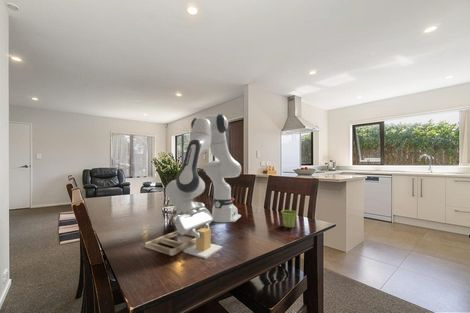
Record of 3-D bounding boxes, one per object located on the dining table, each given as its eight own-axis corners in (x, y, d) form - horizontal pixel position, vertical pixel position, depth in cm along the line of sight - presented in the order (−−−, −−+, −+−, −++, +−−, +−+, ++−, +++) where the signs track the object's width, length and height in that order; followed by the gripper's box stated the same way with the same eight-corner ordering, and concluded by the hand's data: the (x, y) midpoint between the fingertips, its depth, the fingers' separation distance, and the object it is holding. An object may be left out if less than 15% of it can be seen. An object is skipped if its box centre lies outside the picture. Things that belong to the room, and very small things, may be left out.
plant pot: (295, 224, 132) (295, 210, 132) (298, 229, 122) (298, 214, 122) (280, 223, 132) (280, 209, 133) (282, 228, 123) (282, 213, 123)
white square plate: (201, 242, 101) (201, 241, 101) (222, 248, 95) (222, 246, 95) (183, 252, 91) (183, 250, 91) (205, 258, 85) (205, 256, 85)
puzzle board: (181, 232, 116) (181, 228, 116) (206, 238, 107) (206, 234, 107) (145, 247, 96) (145, 242, 96) (172, 255, 87) (172, 250, 87)
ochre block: (202, 245, 96) (202, 227, 96) (210, 247, 94) (210, 229, 94) (196, 248, 92) (196, 230, 92) (204, 251, 90) (204, 232, 90)
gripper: (174, 210, 88) (192, 239, 83) (205, 202, 106) (221, 225, 100) (167, 220, 90) (184, 248, 85) (198, 210, 108) (213, 233, 103)
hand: (204, 235), depth 93 cm, fingers open, 5 cm apart
